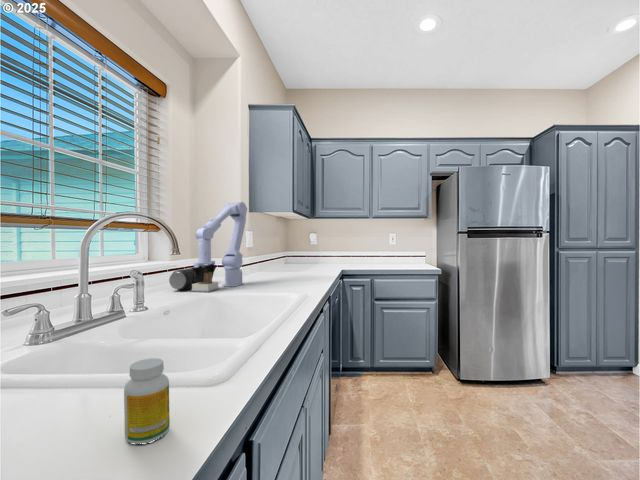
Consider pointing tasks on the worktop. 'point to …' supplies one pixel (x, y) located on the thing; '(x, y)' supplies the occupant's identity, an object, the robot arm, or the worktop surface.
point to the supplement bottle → (146, 402)
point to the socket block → (204, 287)
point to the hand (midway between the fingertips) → (205, 281)
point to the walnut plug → (207, 278)
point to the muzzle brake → (183, 278)
